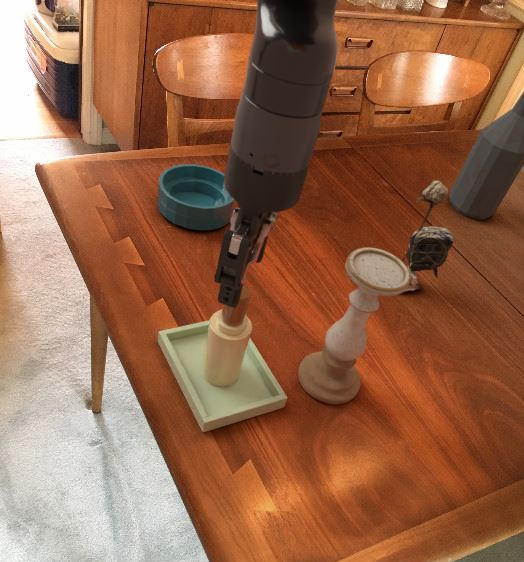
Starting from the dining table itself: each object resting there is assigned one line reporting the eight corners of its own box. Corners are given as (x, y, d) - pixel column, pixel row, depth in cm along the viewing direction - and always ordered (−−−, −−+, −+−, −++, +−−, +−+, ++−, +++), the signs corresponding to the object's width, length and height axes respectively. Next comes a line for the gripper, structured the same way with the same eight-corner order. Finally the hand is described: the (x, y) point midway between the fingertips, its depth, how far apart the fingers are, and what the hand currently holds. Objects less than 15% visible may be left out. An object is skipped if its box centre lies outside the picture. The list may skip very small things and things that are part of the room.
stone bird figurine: (431, 306, 93) (490, 204, 79) (366, 284, 93) (414, 179, 79) (433, 277, 99) (489, 177, 84) (372, 257, 99) (418, 154, 85)
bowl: (144, 216, 94) (145, 190, 90) (175, 180, 103) (178, 156, 99) (216, 242, 93) (221, 217, 89) (242, 204, 102) (247, 180, 98)
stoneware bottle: (194, 378, 72) (209, 296, 61) (209, 351, 76) (225, 269, 65) (232, 392, 72) (253, 312, 61) (244, 364, 75) (266, 284, 65)
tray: (157, 341, 76) (158, 331, 74) (233, 324, 81) (235, 314, 79) (202, 432, 67) (204, 423, 66) (284, 407, 72) (287, 397, 71)
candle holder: (327, 347, 81) (375, 235, 67) (370, 387, 78) (431, 278, 63) (284, 371, 77) (326, 256, 62) (329, 415, 73) (384, 304, 58)
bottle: (501, 218, 118) (589, 74, 96) (468, 223, 114) (552, 73, 92) (471, 191, 124) (548, 49, 102) (438, 194, 119) (510, 47, 98)
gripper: (257, 105, 56) (230, 235, 67) (205, 167, 46) (184, 307, 58) (327, 129, 55) (288, 257, 67) (290, 198, 45) (252, 333, 57)
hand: (240, 280), depth 62 cm, fingers open, 8 cm apart
